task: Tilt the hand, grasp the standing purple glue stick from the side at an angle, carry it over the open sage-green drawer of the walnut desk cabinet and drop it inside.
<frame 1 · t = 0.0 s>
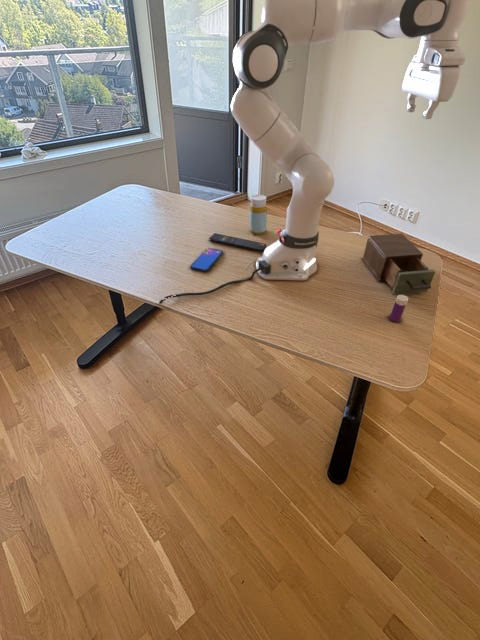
hand: (418, 115, 99), 48 cm above the table, tool pointing down, fingers open, 8 cm apart
bottle: (257, 231, 150), on the table
remote control: (237, 244, 141), on the table
smartphone: (207, 260, 132), on the table
cabinet: (387, 268, 126), on the table
drawer: (407, 275, 114), point 5 cm above the table, slide at 8.0 cm
glue stick: (394, 318, 105), on the table
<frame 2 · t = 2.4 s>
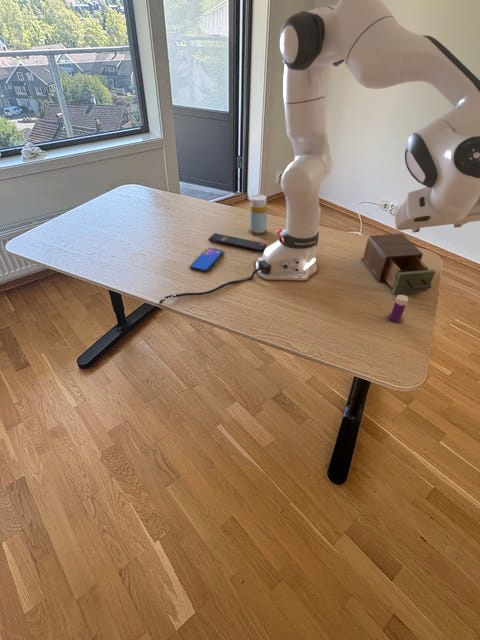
hand: (435, 227, 87), 29 cm above the table, tool tilted 40°, fingers open, 8 cm apart
nothing on the table moved.
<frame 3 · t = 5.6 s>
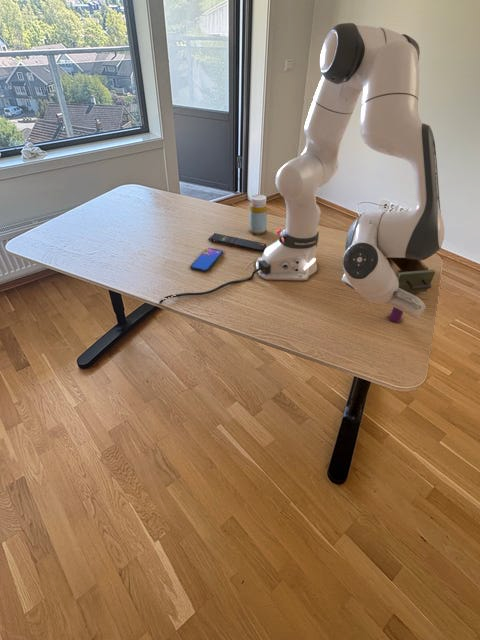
hand: (389, 300, 93), 12 cm above the table, tool tilted 45°, fingers open, 8 cm apart
nothing on the table moved.
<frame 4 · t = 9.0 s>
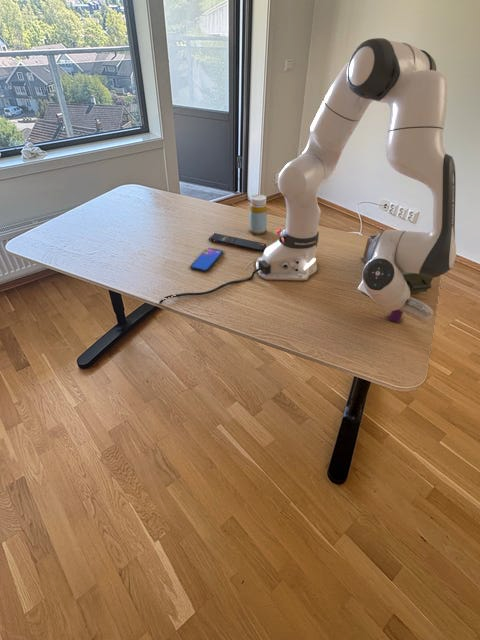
hand: (400, 306, 102), 4 cm above the table, tool tilted 45°, fingers closed on glue stick, 3 cm apart
glue stick: (394, 318, 105), on the table, touching gripper
everything else where it was.
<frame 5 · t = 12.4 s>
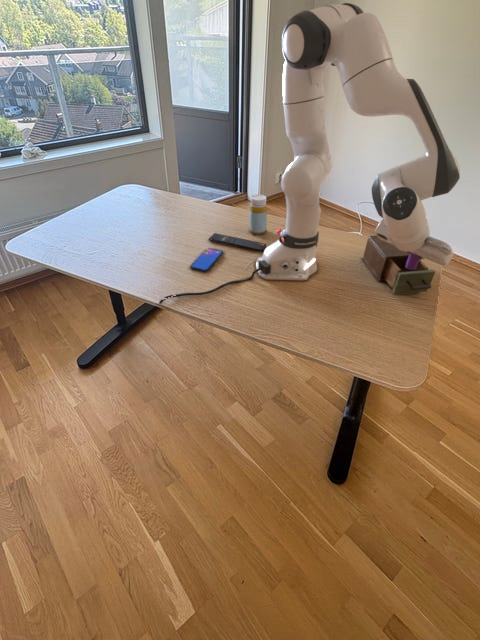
hand: (416, 253, 100), 18 cm above the table, tool tilted 45°, fingers closed on glue stick, 3 cm apart
glue stick: (410, 267, 102), point 13 cm above the table, touching gripper
everything else where it was.
when the fingers open (11 cm above the table, at t = 16.0 s): glue stick drops 4 cm, resting on drawer.
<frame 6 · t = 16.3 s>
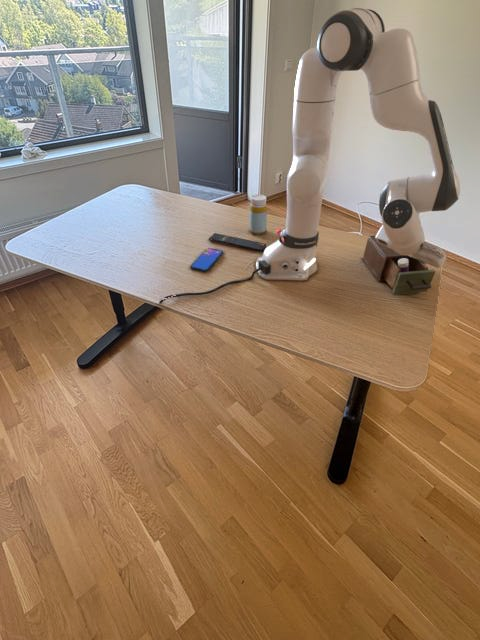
hand: (413, 256, 110), 11 cm above the table, tool tilted 45°, fingers open, 6 cm apart
drawer: (407, 275, 114), point 5 cm above the table, slide at 8.0 cm, touching glue stick
glue stick: (404, 280, 116), point 3 cm above the table, tilted 19°, touching drawer
everything else where it was.
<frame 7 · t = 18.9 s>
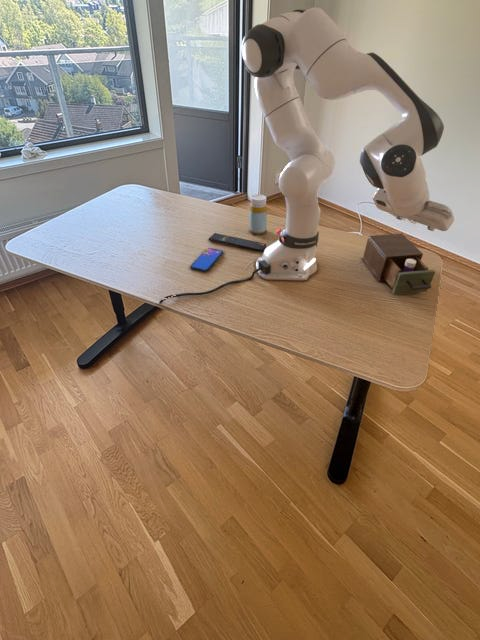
hand: (416, 222, 98), 25 cm above the table, tool tilted 45°, fingers open, 8 cm apart
glue stick: (403, 281, 116), point 2 cm above the table, touching drawer
everything else where it was.
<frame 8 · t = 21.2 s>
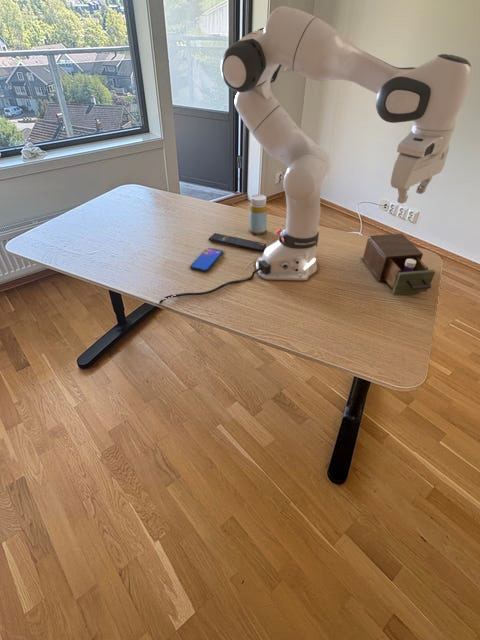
hand: (411, 197, 91), 33 cm above the table, tool pointing down, fingers open, 8 cm apart
nothing on the table moved.
at the end: glue stick inside the target area in the drawer (4.0 cm from its centre), point 2.1 cm above the cabinet's base; the gripper is holding nothing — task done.
